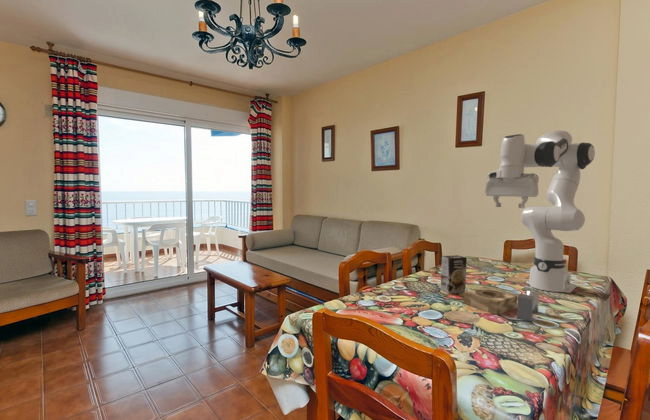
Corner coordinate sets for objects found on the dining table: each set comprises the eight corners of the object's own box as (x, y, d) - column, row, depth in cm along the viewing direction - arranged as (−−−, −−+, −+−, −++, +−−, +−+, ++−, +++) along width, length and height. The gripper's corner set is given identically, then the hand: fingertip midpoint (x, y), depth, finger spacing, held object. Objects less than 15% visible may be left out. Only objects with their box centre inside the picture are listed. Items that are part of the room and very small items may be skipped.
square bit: (518, 314, 121) (519, 293, 121) (532, 317, 118) (533, 296, 118) (516, 318, 118) (517, 296, 117) (531, 321, 115) (532, 299, 114)
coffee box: (448, 294, 145) (449, 258, 144) (440, 289, 151) (441, 255, 150) (466, 292, 148) (467, 257, 147) (456, 288, 154) (457, 254, 153)
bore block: (483, 298, 140) (483, 286, 140) (516, 308, 128) (517, 295, 128) (463, 303, 133) (463, 291, 132) (496, 315, 121) (497, 301, 121)
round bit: (528, 308, 127) (529, 288, 127) (540, 312, 124) (541, 291, 123) (523, 311, 125) (523, 290, 125) (534, 314, 122) (535, 293, 121)
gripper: (542, 173, 127) (540, 208, 127) (492, 175, 144) (490, 206, 144) (534, 172, 123) (532, 208, 124) (483, 174, 141) (482, 206, 141)
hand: (509, 207), depth 134 cm, fingers open, 8 cm apart
